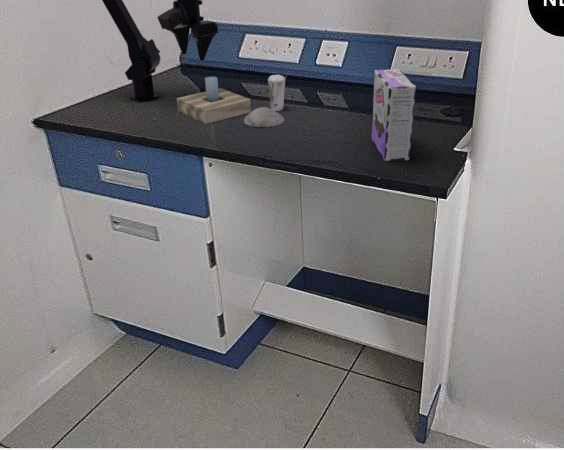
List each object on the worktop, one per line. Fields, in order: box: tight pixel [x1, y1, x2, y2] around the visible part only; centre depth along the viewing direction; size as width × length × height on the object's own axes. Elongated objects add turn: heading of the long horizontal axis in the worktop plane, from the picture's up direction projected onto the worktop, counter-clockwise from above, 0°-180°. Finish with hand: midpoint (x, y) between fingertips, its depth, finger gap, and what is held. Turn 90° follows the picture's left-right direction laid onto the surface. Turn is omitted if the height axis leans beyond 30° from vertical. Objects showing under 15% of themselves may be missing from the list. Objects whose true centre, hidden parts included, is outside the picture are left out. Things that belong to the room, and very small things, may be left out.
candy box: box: [371, 68, 417, 162], centre depth 137 cm, size 14×6×16 cm, turn 5°
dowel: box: [204, 76, 219, 103], centre depth 165 cm, size 3×3×9 cm
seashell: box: [243, 106, 286, 129], centre depth 159 cm, size 10×6×10 cm
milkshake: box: [267, 72, 289, 112], centre depth 165 cm, size 4×5×10 cm
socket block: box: [176, 87, 252, 125], centre depth 166 cm, size 14×14×4 cm
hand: (192, 57), depth 171 cm, fingers open, 9 cm apart
